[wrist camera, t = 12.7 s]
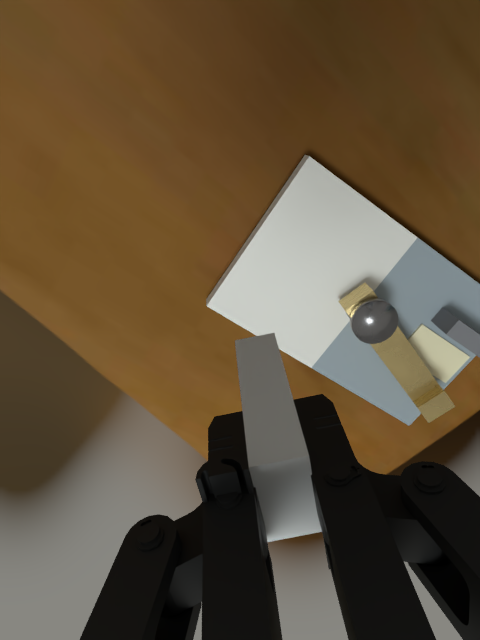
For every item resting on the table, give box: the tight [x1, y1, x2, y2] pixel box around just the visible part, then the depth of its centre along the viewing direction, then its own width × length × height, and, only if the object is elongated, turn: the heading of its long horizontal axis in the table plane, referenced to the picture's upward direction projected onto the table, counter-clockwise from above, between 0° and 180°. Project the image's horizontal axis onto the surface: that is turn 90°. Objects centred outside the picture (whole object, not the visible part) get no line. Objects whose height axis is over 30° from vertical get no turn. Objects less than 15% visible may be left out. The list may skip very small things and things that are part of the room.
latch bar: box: [338, 283, 455, 423], centre depth 38 cm, size 13×4×3 cm, turn 38°
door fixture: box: [206, 155, 480, 425], centre depth 38 cm, size 14×23×4 cm, turn 56°
